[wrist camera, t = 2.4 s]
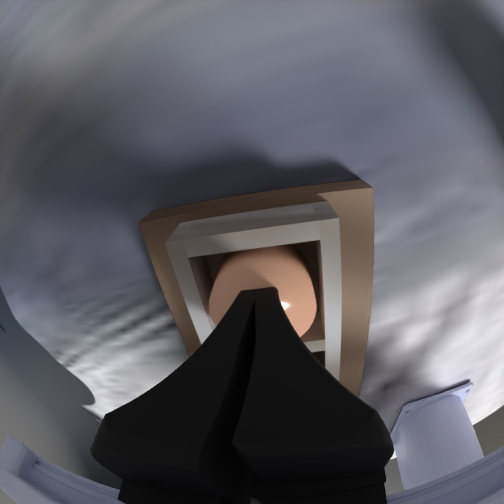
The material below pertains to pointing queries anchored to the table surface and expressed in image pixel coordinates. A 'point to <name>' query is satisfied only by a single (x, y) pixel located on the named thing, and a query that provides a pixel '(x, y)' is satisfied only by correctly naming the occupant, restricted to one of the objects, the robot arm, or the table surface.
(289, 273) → the button terracotta
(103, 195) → the table surface
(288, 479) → the robot arm
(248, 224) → the button board
